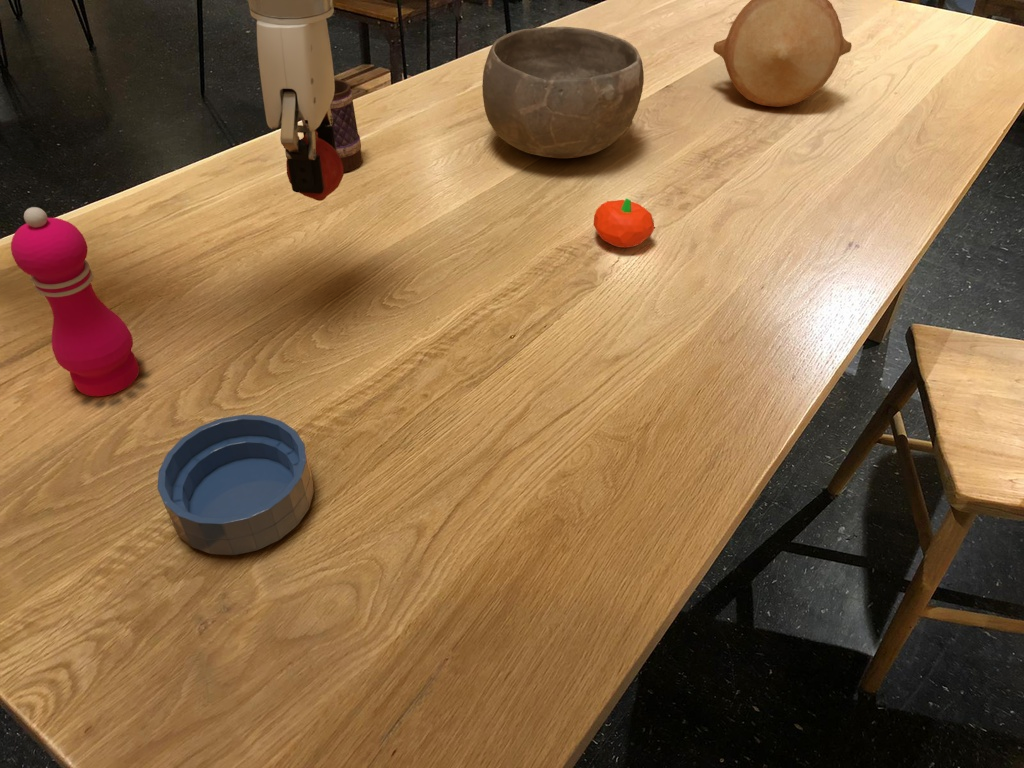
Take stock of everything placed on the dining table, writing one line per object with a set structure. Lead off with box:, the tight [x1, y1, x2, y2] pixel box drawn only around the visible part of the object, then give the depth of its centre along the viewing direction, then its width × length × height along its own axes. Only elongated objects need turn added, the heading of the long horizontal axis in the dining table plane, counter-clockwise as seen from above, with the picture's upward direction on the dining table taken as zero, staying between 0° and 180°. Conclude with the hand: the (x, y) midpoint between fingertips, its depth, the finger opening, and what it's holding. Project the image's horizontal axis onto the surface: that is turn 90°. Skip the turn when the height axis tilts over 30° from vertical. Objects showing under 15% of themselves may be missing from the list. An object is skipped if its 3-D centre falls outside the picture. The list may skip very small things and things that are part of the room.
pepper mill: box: [10, 206, 140, 397], centre depth 74 cm, size 7×7×20 cm
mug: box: [301, 78, 363, 173], centre depth 111 cm, size 10×7×12 cm
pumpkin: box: [593, 198, 656, 249], centre depth 100 cm, size 7×8×6 cm
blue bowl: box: [157, 414, 315, 556], centre depth 67 cm, size 12×12×5 cm
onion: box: [285, 130, 344, 202], centre depth 81 cm, size 6×6×8 cm
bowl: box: [481, 26, 645, 159], centre depth 117 cm, size 24×24×15 cm
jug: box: [712, 0, 853, 108], centre depth 136 cm, size 20×19×30 cm
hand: (315, 174), depth 82 cm, fingers closed on onion, 5 cm apart
